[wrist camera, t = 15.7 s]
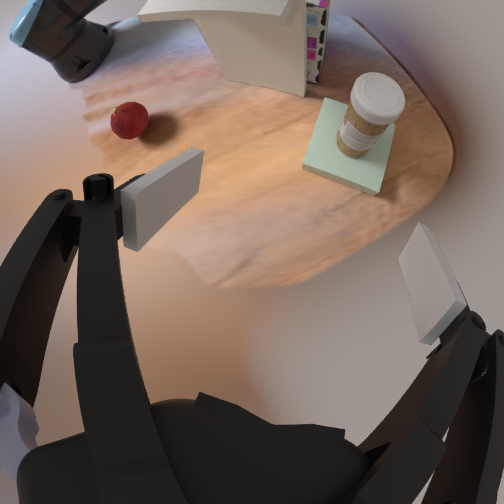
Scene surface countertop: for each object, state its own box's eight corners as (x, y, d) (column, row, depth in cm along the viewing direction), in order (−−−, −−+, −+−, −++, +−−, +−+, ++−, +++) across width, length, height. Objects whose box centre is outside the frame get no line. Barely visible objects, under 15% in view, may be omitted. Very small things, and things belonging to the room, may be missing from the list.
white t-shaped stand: (212, 110, 36) (136, 15, 14) (229, 74, 35) (174, -29, 13) (292, 129, 34) (279, 15, 12) (306, 90, 33) (304, -29, 12)
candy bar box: (320, 85, 33) (328, 9, 17) (286, 79, 34) (276, 3, 18) (327, 35, 32) (332, -37, 16) (297, 30, 33) (291, -42, 16)
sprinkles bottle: (348, 119, 30) (371, 61, 17) (376, 142, 30) (415, 95, 16) (327, 143, 31) (342, 91, 17) (356, 167, 30) (389, 127, 17)
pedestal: (302, 169, 34) (302, 163, 31) (323, 106, 33) (324, 97, 30) (372, 195, 33) (379, 192, 30) (389, 131, 32) (395, 124, 29)
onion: (150, 146, 38) (121, 130, 30) (123, 143, 39) (93, 129, 31) (161, 112, 37) (136, 91, 29) (134, 111, 38) (106, 93, 30)
